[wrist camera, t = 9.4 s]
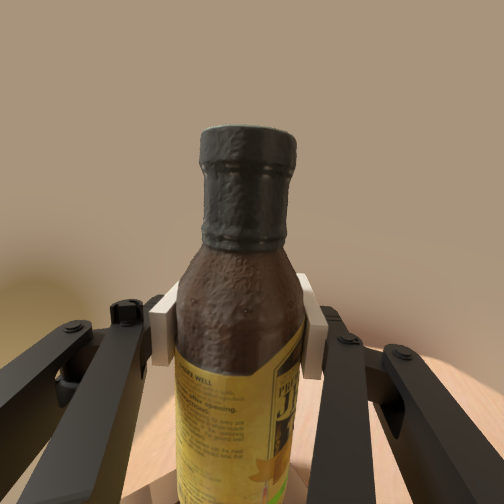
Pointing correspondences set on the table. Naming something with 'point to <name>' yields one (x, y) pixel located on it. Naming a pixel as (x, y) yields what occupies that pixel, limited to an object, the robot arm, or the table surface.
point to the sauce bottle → (239, 325)
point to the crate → (166, 500)
